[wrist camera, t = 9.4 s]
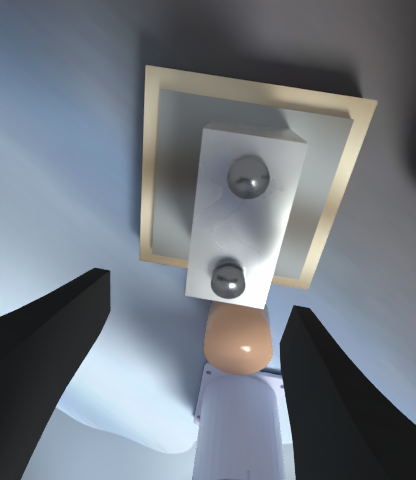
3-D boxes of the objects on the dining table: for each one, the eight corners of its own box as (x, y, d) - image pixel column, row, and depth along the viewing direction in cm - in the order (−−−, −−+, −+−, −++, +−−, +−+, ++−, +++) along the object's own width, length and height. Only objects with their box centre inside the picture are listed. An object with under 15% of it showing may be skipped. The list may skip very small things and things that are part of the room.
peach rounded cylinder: (261, 340, 26) (264, 380, 22) (205, 330, 26) (199, 368, 22) (275, 295, 23) (280, 332, 20) (213, 284, 23) (208, 319, 20)
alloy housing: (258, 258, 19) (264, 317, 14) (198, 248, 19) (182, 303, 14) (289, 128, 15) (312, 146, 10) (214, 117, 15) (201, 130, 10)
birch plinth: (302, 273, 22) (309, 294, 20) (147, 246, 22) (137, 263, 20) (363, 99, 16) (382, 100, 14) (155, 67, 17) (142, 64, 15)
